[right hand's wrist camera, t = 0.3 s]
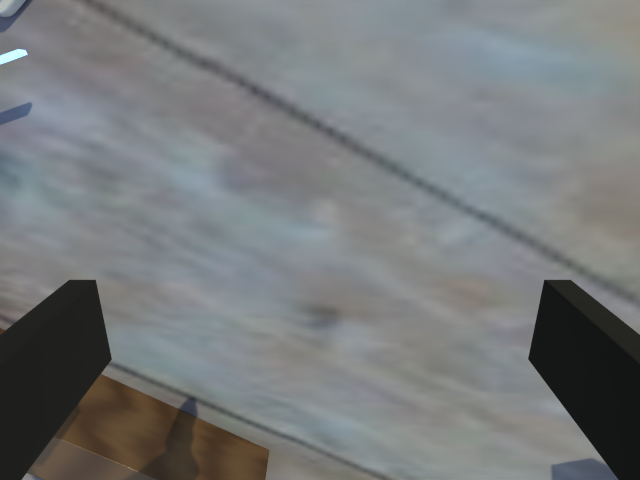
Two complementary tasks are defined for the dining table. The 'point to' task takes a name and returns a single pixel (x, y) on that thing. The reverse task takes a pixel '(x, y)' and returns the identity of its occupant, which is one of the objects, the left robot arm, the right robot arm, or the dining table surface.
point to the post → (143, 442)
